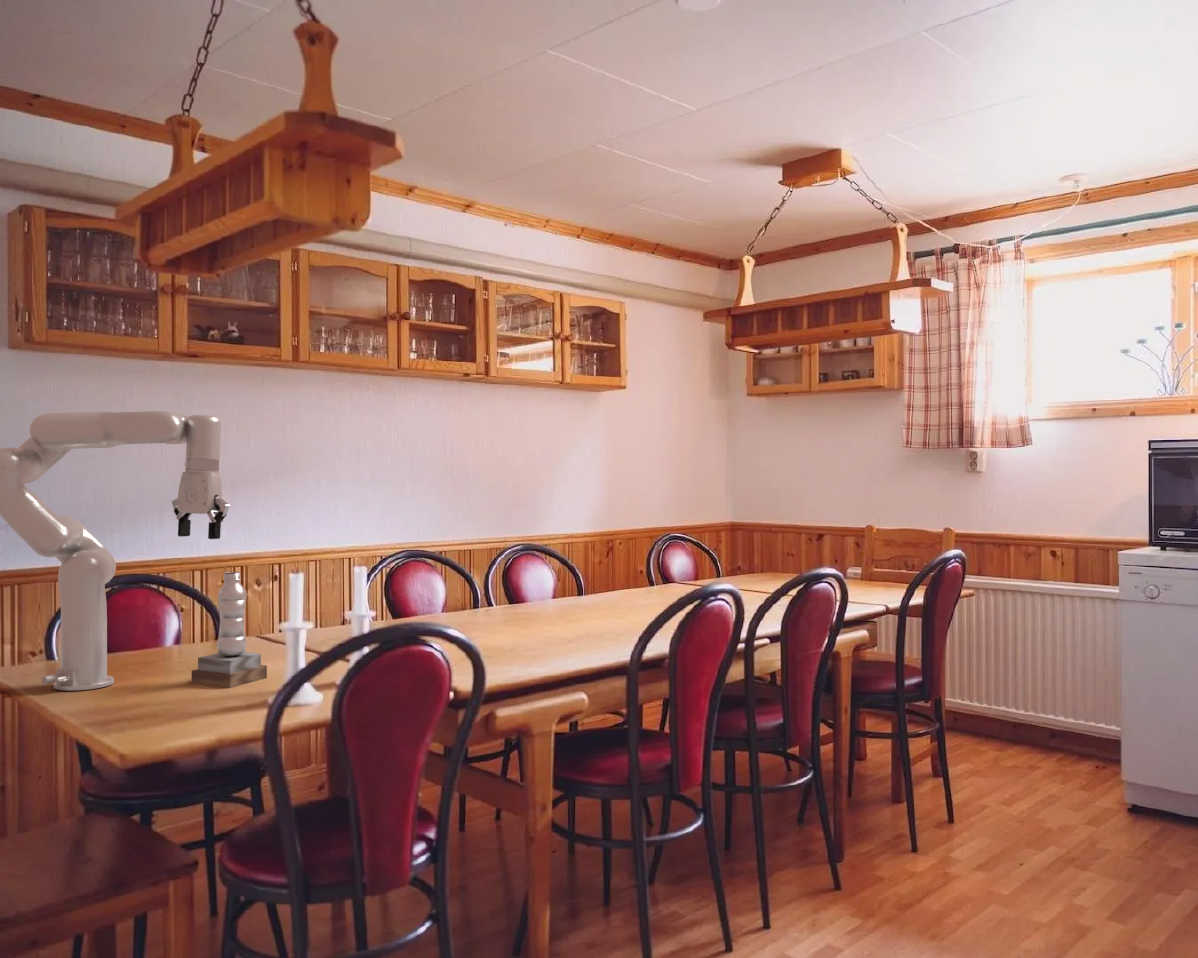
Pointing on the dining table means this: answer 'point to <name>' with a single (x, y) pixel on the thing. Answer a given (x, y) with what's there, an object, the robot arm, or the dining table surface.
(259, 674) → the plinth
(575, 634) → the dining table surface
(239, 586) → the plastic bottle
